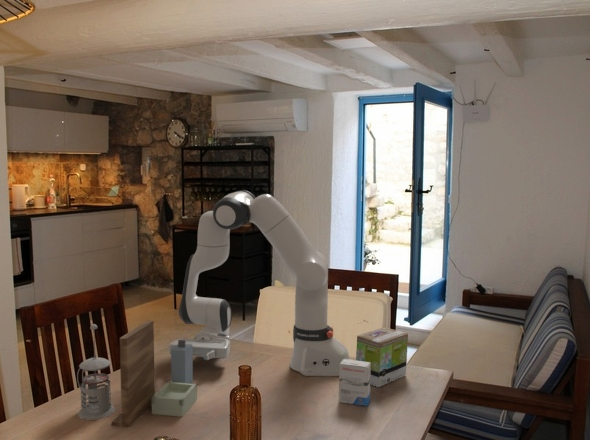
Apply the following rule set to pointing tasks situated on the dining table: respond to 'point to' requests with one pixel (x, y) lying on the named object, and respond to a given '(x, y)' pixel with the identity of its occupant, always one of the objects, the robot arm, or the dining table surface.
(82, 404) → the french press
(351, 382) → the ink box
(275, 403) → the dining table surface
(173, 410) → the pale green open box
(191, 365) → the grey block with tab
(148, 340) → the wooden flat block
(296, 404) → the dining table surface
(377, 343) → the tea box
